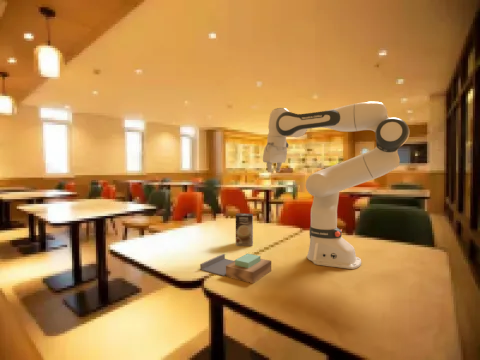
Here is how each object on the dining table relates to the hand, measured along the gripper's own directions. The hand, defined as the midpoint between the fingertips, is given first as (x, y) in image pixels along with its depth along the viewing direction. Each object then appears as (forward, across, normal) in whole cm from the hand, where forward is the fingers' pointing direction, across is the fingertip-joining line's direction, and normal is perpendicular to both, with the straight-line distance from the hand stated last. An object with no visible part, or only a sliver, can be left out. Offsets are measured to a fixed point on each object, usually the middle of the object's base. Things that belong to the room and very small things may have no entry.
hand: (273, 172), depth 133 cm
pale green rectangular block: (+34, -31, -6) cm, 46 cm away
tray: (+39, -30, +6) cm, 50 cm away
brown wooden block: (+38, -31, -7) cm, 49 cm away
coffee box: (+40, +2, +14) cm, 43 cm away
